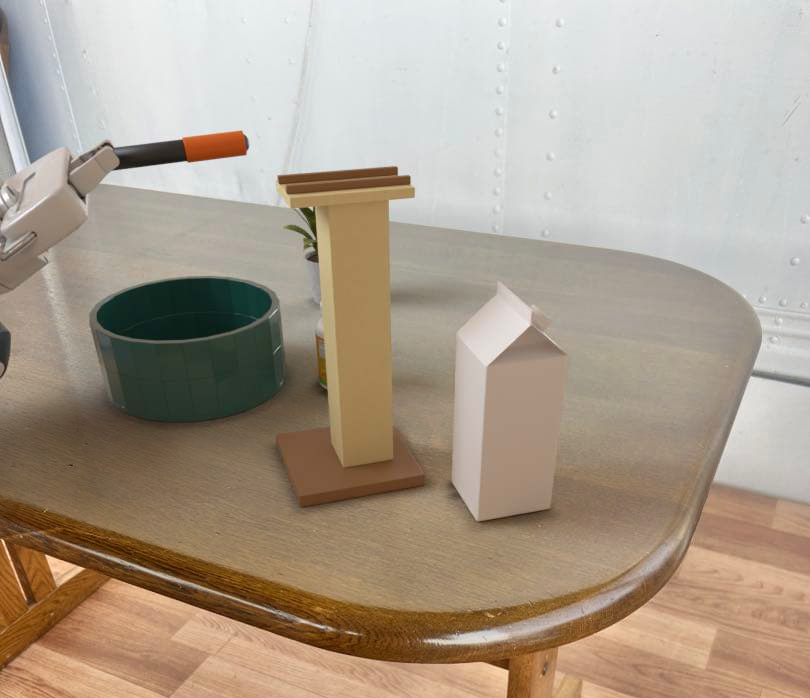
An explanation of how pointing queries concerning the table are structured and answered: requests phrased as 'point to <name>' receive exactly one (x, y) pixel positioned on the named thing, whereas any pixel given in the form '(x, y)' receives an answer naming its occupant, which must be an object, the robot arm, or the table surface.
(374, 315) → the stand
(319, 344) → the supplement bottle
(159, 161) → the marker
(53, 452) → the table surface
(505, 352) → the milk carton
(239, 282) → the pot
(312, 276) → the house plant
